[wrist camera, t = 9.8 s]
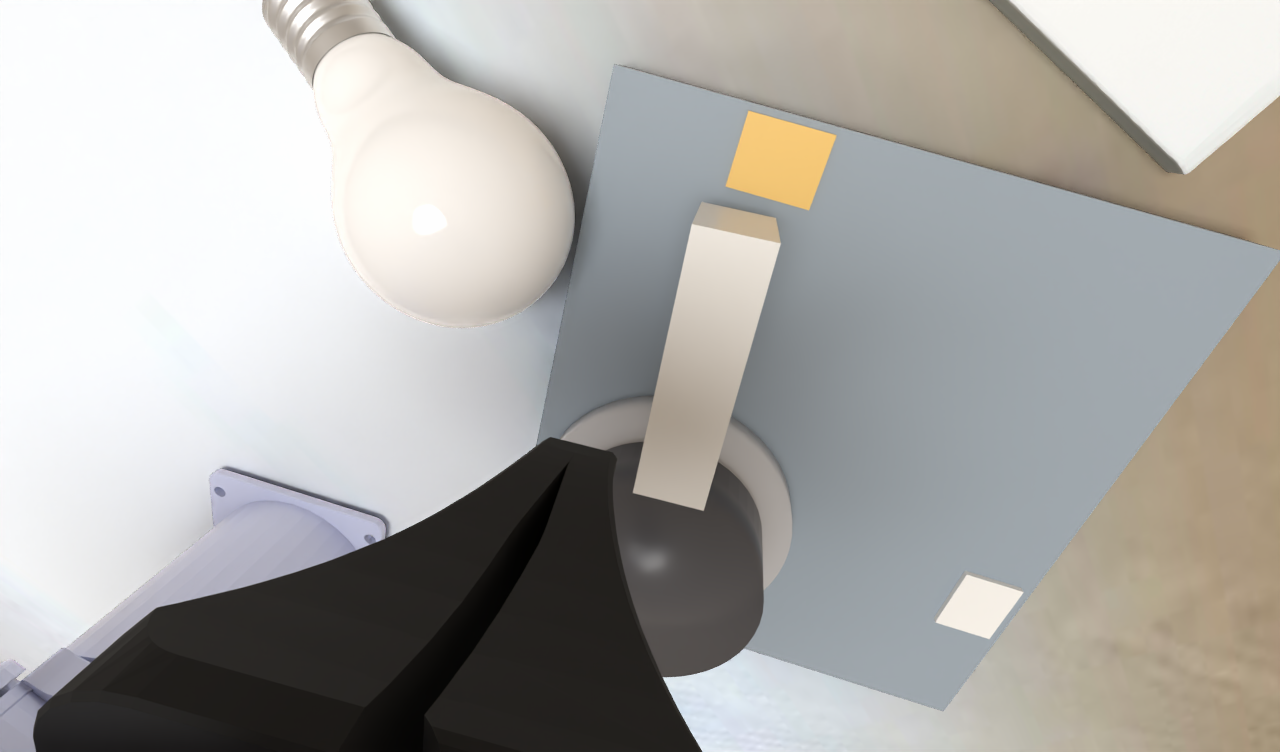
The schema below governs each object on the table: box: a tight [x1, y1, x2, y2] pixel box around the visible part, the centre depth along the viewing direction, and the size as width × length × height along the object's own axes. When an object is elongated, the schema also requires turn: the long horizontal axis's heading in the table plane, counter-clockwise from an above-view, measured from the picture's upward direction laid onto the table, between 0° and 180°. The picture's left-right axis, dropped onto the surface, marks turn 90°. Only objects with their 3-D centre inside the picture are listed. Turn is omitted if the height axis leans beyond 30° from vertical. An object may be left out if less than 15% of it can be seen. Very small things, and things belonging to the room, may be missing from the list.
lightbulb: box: [262, 0, 575, 328], centre depth 17 cm, size 6×6×11 cm
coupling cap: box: [605, 202, 781, 677], centre depth 18 cm, size 14×7×3 cm, turn 169°
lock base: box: [536, 64, 1280, 711], centre depth 21 cm, size 19×18×2 cm
